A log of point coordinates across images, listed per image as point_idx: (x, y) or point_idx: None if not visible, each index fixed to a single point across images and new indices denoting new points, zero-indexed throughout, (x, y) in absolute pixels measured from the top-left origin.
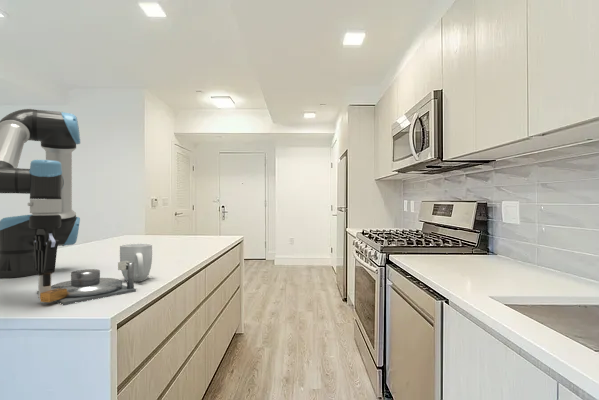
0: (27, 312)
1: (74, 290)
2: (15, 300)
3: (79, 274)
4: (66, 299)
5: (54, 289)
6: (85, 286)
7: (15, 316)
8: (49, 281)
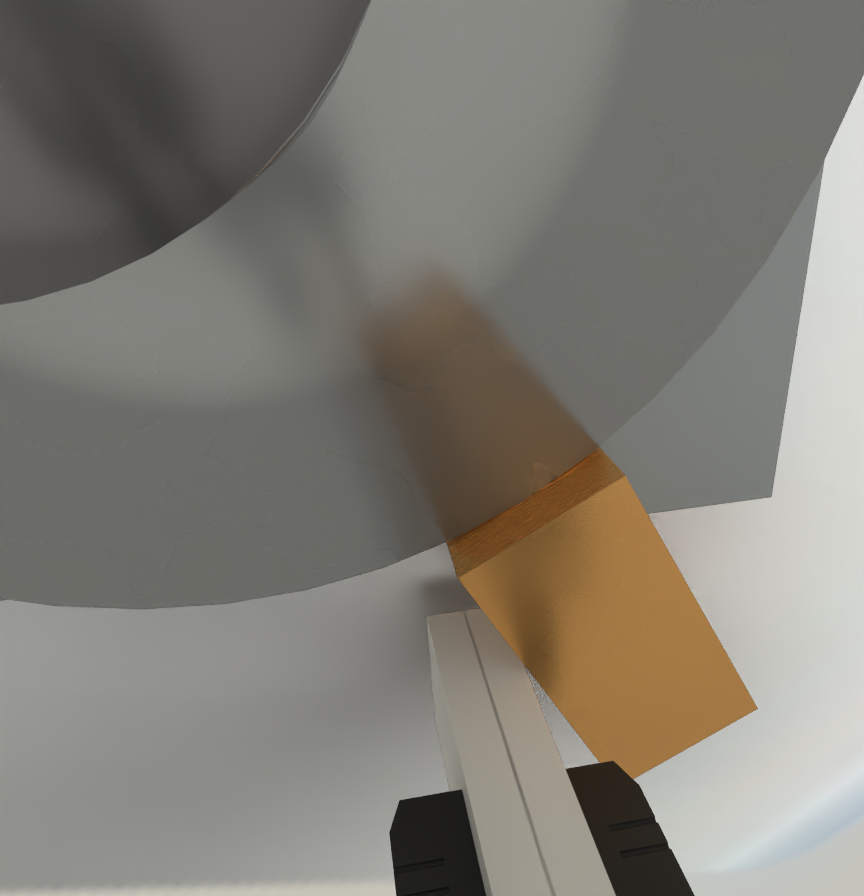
0: (719, 759)
1: (605, 327)
2: (60, 825)
3: (288, 132)
4: (654, 435)
5: (521, 631)
6: (370, 3)
7: (763, 825)
8: (661, 840)
